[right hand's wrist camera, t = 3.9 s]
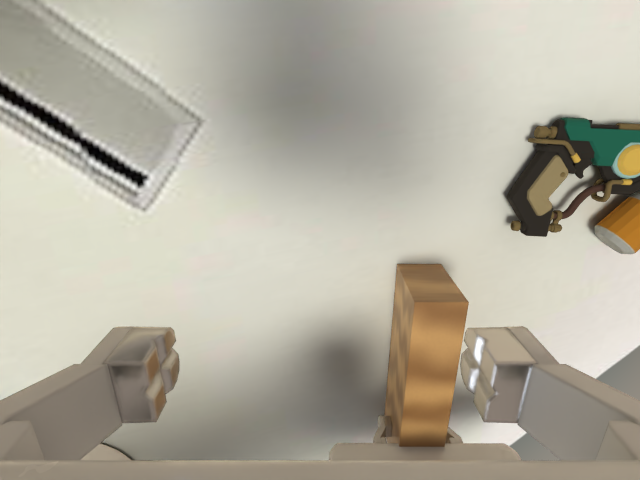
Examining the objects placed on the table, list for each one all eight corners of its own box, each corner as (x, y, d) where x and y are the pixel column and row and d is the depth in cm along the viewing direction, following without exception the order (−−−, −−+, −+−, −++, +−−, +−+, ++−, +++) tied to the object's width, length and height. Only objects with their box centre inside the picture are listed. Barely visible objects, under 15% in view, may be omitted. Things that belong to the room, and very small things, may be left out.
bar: (397, 263, 41) (414, 302, 34) (441, 264, 41) (468, 302, 34) (383, 423, 50) (395, 483, 42) (420, 423, 50) (438, 483, 42)
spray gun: (482, 217, 40) (552, 72, 35) (623, 265, 41) (709, 130, 36) (498, 228, 36) (580, 66, 31) (654, 281, 37) (756, 131, 32)
